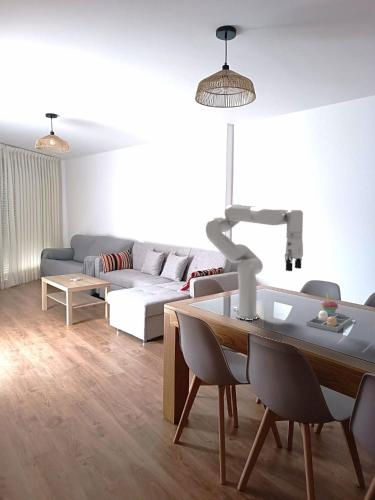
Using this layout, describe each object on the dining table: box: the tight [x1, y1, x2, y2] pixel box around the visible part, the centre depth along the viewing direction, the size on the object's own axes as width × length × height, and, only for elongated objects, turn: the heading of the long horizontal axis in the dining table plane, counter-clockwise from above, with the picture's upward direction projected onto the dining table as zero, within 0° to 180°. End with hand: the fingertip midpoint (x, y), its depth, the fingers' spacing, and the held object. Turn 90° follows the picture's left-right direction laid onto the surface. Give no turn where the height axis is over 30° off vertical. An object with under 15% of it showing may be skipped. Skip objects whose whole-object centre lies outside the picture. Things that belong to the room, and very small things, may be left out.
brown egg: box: [327, 316, 337, 327], centre depth 177 cm, size 4×4×6 cm
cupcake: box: [321, 293, 339, 314], centre depth 203 cm, size 9×8×12 cm
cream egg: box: [318, 310, 328, 321], centre depth 187 cm, size 4×4×6 cm
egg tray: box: [306, 313, 353, 333], centre depth 185 cm, size 15×22×2 cm
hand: (293, 269), depth 182 cm, fingers open, 9 cm apart
